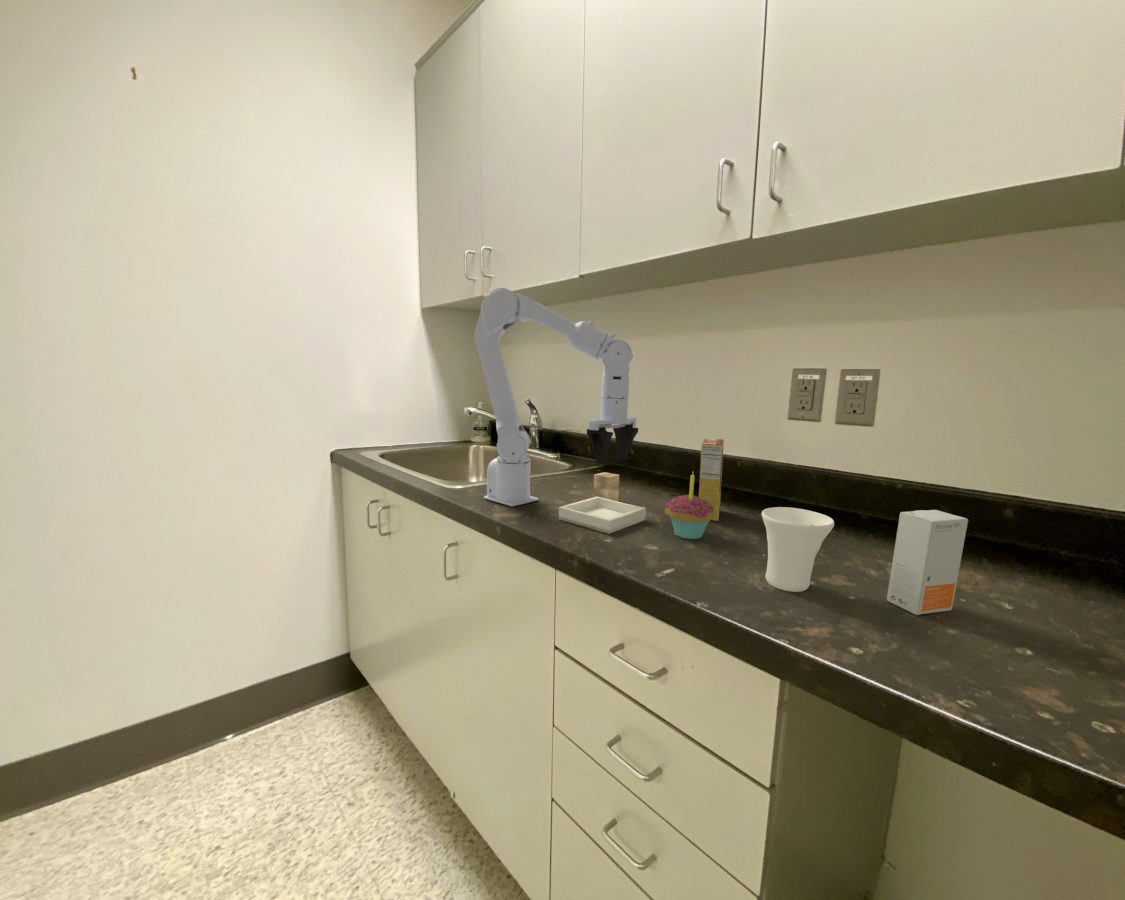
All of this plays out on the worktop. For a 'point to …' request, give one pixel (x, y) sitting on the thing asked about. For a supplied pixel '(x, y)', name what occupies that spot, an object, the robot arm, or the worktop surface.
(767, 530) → the cup
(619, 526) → the tray
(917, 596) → the skincare box
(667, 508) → the cupcake
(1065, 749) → the worktop surface
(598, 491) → the wooden block
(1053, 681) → the worktop surface
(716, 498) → the candy box
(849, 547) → the worktop surface
